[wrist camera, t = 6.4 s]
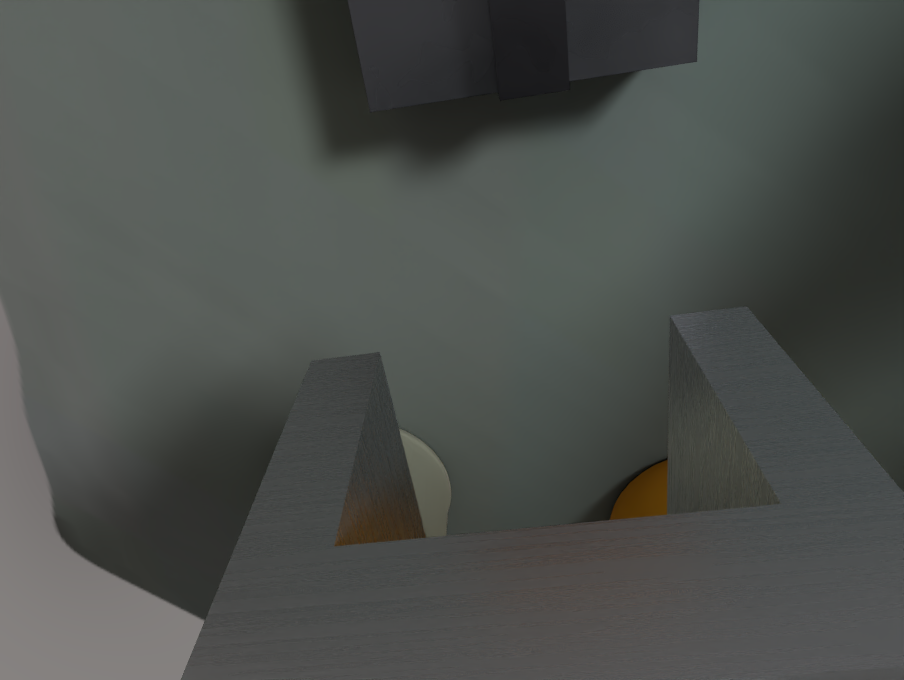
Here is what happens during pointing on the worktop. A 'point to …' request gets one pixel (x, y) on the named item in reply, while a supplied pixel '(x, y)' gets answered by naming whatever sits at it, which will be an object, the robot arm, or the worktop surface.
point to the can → (428, 484)
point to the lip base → (460, 54)
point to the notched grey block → (576, 547)
